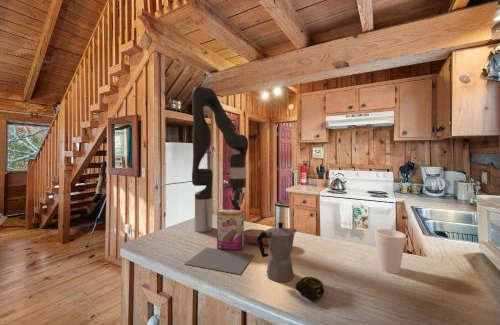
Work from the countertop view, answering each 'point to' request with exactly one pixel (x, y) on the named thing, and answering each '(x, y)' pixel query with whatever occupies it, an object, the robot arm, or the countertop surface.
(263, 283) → the countertop surface
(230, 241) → the candy bar box
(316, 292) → the tape measure
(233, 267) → the mat
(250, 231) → the anatomical model
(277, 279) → the coffeepot
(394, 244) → the foam cup
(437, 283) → the countertop surface
